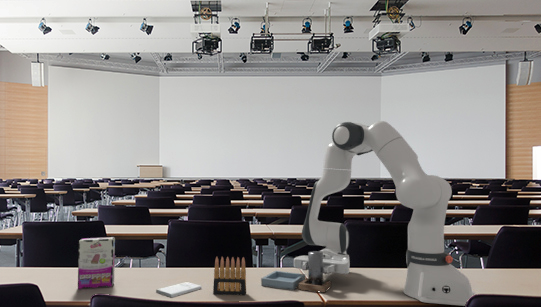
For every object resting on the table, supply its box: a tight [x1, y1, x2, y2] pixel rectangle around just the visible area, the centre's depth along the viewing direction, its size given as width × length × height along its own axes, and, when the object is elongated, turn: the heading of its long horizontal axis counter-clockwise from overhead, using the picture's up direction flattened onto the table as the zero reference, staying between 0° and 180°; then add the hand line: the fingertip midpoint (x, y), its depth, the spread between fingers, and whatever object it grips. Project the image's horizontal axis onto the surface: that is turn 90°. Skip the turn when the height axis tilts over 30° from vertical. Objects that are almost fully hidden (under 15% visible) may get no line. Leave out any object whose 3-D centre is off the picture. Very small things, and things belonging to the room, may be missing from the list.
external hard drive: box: [155, 281, 202, 298], centre depth 128 cm, size 2×8×12 cm
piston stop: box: [307, 250, 324, 286], centre depth 132 cm, size 5×5×12 cm
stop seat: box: [298, 277, 332, 293], centre depth 131 cm, size 9×8×2 cm
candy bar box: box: [77, 236, 116, 290], centre depth 133 cm, size 11×5×16 cm, turn 105°
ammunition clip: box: [212, 256, 247, 296], centre depth 125 cm, size 11×2×12 cm, turn 86°
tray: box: [260, 270, 306, 291], centre depth 137 cm, size 12×12×2 cm
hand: (314, 269), depth 131 cm, fingers open, 6 cm apart
